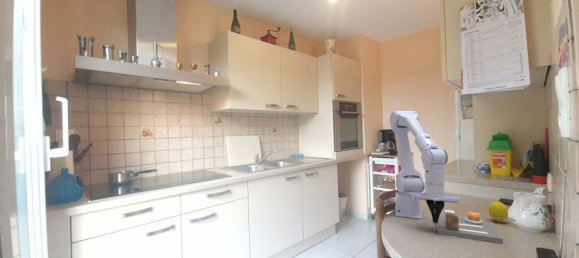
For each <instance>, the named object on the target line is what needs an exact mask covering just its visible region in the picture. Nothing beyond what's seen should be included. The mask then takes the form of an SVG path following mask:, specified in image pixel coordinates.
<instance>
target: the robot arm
mask: <svg viewBox="0 0 579 258" xmlns="http://www.w3.org/2000/svg"><path fill="white" fill-rule="evenodd" d="M419 118H420V116H419V114H418V112H417V111H416V109H415V110H414V109H413V110H392V112H391V113H390V116H389V122H390V128H391V132H394V136H395V142H396V148H397V153H398V160H399V166H400V169H401V170H400V171H398V173H396V174H395V187H396V190H397V191H396V192H395V206H394V210H395V216H397V217H404V218H410V219H412V218H413V219H419V220H422V219H423V215H422V211H421V201H425V202H426V204H427V207H428V209H429V211H430V214H431V218H432V223H433V224H435V223H438V219H439V216H441V213H442V211H444V210H443V209H444V208H445V206H446V205H445V203H448V204H456V205H461V198H460V196H459V197H457V196H451V195H445V165H446V164H447V163H448V161H449V155H448V153H447V151H446V149H445V148H443V147H440V146H438V145H437V143H436V142H435V141H434V139H433V138H432V136H431V135H430V134H429V133H425V132H424V130H423V127H422V126H421V124H420V122H419ZM409 132H410V133H411V134H412V135H413V137H414V144H415V145H416V147H417V149H418V150H419V152H420V153H421V156H420V158H421V162H422V164H423V165H422V167H423V169H424V178H425V181H424V178H423V175H422V173H421V172H420V171H418V170H416V168H415V164H414V160H413V155H412V149H411V145H410V139H409V136H408V134H409ZM423 192H425V193H423Z"/></svg>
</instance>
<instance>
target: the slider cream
mask: <svg viewBox="0 0 579 258" xmlns="http://www.w3.org/2000/svg"><path fill="white" fill-rule="evenodd" d="M446 214H449V215H456V212H455V211H454V210H452V209H444V210H443V216H444V221H445V223H447V218H446Z"/></svg>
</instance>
